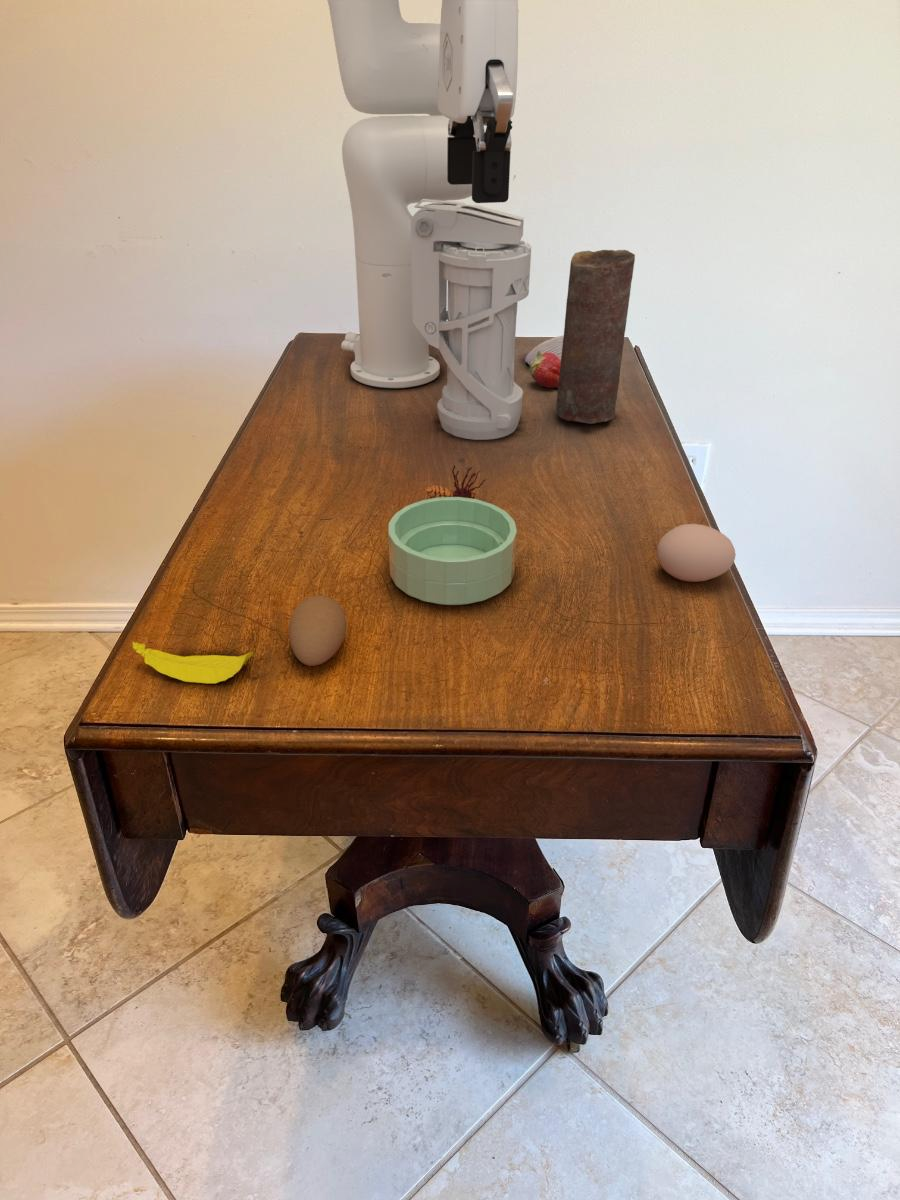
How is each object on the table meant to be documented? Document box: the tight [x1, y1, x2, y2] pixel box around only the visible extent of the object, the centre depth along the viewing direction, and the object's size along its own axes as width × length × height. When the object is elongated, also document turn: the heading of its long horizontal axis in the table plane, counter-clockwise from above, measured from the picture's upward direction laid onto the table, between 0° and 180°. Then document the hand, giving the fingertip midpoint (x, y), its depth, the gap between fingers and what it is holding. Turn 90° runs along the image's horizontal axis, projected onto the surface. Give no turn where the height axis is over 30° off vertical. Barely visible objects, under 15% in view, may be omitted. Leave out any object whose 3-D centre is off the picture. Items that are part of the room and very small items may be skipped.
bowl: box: [387, 497, 518, 606], centre depth 75 cm, size 11×11×5 cm
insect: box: [425, 465, 487, 500], centre depth 84 cm, size 4×6×5 cm, turn 105°
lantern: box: [411, 199, 532, 441], centre depth 97 cm, size 13×10×25 cm
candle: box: [555, 249, 636, 425], centre depth 99 cm, size 8×7×20 cm
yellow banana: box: [131, 641, 255, 685], centre depth 64 cm, size 10×2×3 cm
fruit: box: [528, 350, 561, 389], centre depth 113 cm, size 4×6×5 cm
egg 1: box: [288, 594, 348, 667], centre depth 65 cm, size 4×4×6 cm
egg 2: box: [656, 523, 736, 583], centre depth 74 cm, size 5×5×7 cm
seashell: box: [524, 335, 564, 368], centre depth 121 cm, size 10×6×10 cm
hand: (476, 192), depth 77 cm, fingers open, 9 cm apart
